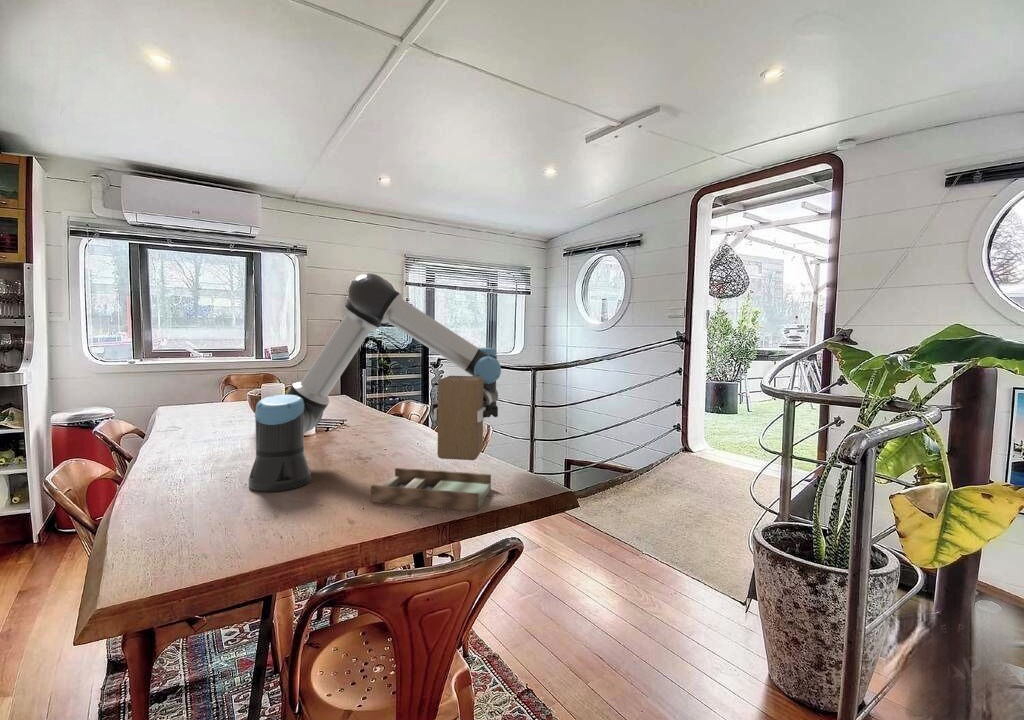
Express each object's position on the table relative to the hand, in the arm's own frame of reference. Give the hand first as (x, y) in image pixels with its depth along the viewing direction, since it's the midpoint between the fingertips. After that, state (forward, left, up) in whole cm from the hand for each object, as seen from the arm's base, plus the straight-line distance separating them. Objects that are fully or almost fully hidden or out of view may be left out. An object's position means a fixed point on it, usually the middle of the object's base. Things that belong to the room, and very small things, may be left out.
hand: (456, 415), depth 112 cm
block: (0, +4, -11) cm, 12 cm away
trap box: (-7, +4, -22) cm, 23 cm away
